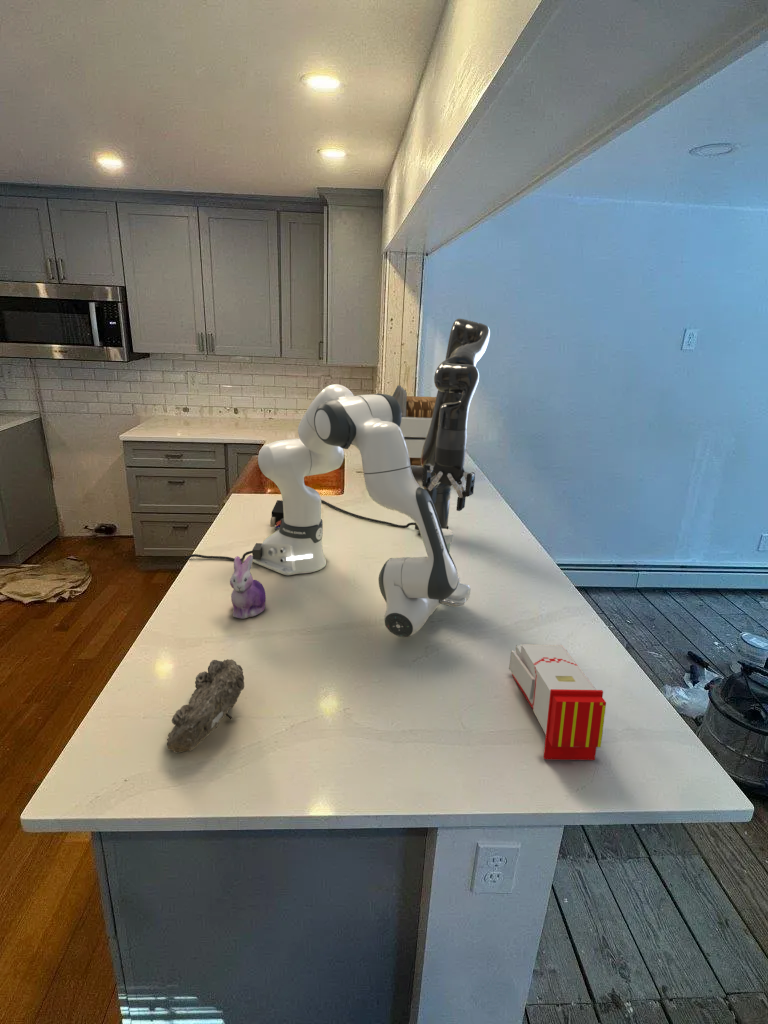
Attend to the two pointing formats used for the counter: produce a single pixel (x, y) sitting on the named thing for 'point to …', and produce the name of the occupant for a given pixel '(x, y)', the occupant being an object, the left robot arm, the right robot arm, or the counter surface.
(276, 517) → the figurine character
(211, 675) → the fossil
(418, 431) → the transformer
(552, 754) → the toy
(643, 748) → the counter surface
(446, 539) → the lid
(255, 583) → the figurine
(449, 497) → the right robot arm
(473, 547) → the counter surface
